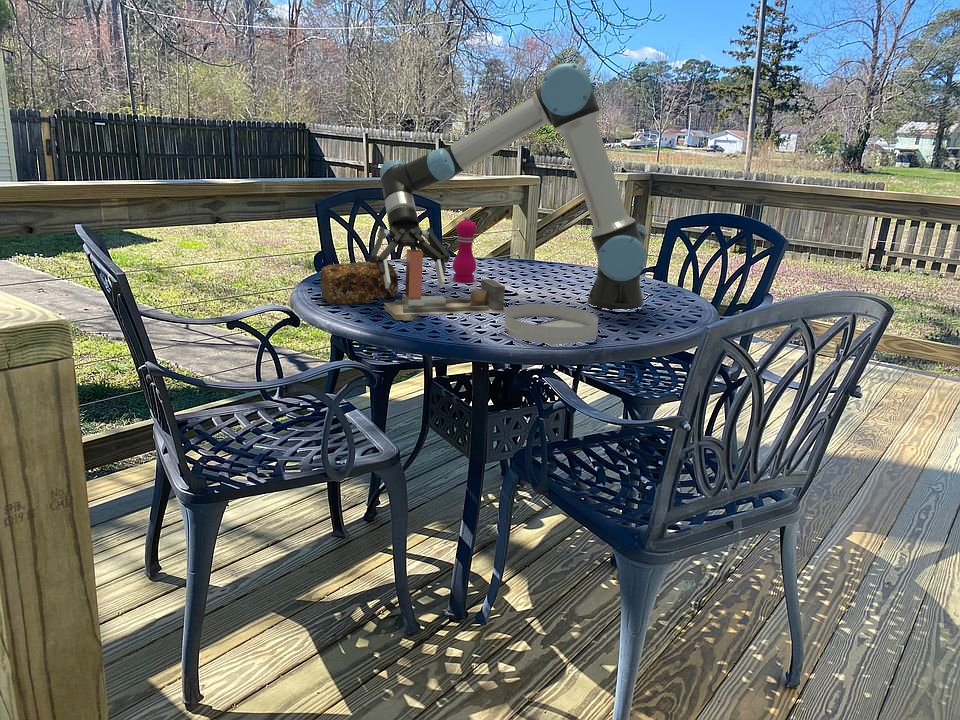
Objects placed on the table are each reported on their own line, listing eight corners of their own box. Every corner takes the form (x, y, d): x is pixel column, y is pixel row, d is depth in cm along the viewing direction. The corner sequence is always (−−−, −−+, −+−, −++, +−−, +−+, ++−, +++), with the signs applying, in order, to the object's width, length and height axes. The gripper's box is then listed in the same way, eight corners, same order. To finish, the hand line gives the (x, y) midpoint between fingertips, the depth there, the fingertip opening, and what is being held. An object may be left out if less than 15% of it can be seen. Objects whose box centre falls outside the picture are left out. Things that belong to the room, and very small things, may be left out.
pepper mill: (474, 283, 223) (478, 217, 217) (451, 282, 223) (454, 215, 217) (475, 279, 230) (479, 214, 224) (452, 277, 230) (455, 212, 224)
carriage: (440, 303, 188) (442, 248, 184) (447, 308, 183) (449, 252, 179) (401, 304, 185) (403, 248, 181) (408, 309, 180) (410, 252, 175)
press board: (493, 305, 197) (495, 278, 195) (510, 316, 187) (512, 287, 184) (383, 308, 187) (384, 279, 184) (395, 320, 176) (395, 290, 174)
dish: (497, 343, 164) (499, 322, 162) (507, 319, 185) (509, 300, 183) (597, 353, 161) (600, 331, 160) (596, 328, 182) (598, 308, 181)
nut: (488, 306, 189) (489, 291, 188) (479, 309, 186) (480, 293, 185) (476, 303, 192) (477, 288, 190) (466, 305, 189) (467, 290, 187)
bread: (387, 294, 203) (388, 258, 200) (398, 303, 194) (399, 266, 191) (319, 296, 196) (319, 259, 193) (328, 306, 186) (328, 267, 183)
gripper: (444, 224, 196) (459, 292, 187) (351, 222, 187) (362, 294, 178) (452, 206, 189) (468, 275, 180) (355, 204, 181) (367, 276, 172)
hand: (415, 285), depth 179 cm, fingers open, 13 cm apart
